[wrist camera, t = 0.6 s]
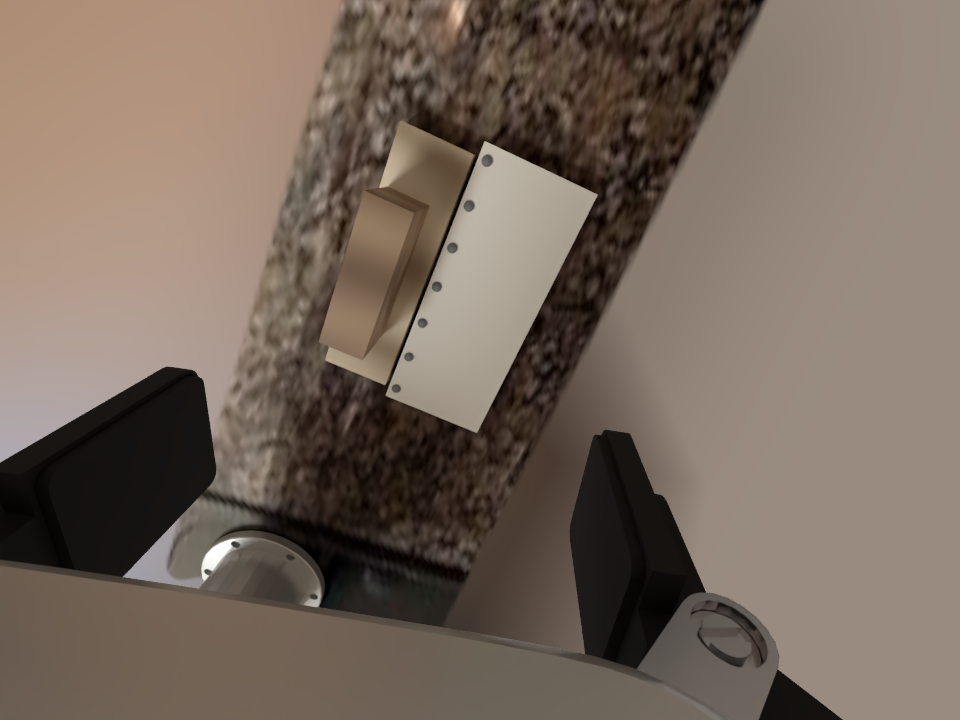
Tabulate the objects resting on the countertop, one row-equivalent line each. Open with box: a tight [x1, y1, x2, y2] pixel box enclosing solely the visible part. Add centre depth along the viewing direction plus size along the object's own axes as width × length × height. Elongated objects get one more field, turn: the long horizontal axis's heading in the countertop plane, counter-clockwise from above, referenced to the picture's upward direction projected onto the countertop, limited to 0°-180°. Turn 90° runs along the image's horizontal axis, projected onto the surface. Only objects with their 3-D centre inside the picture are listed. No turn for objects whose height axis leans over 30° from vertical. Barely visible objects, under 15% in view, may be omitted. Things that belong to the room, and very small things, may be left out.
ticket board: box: [385, 141, 598, 433], centre depth 34 cm, size 20×8×2 cm, turn 157°
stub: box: [319, 120, 476, 385], centre depth 31 cm, size 18×5×6 cm, turn 157°
